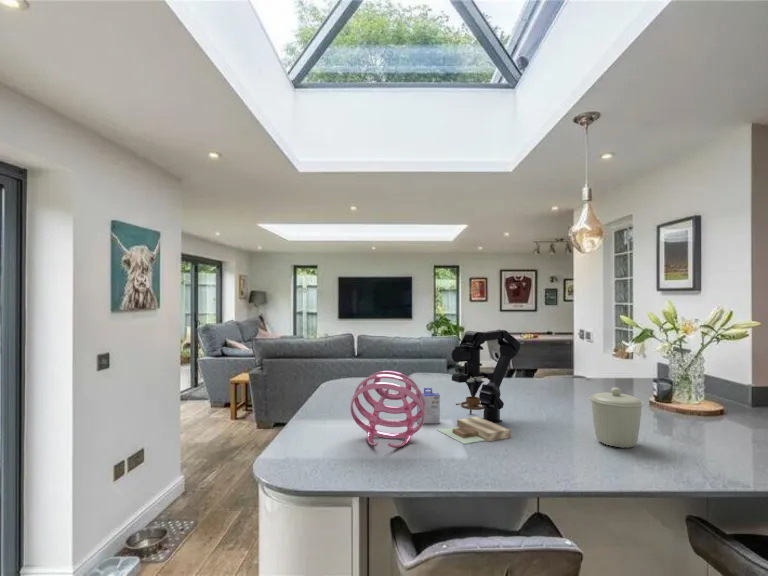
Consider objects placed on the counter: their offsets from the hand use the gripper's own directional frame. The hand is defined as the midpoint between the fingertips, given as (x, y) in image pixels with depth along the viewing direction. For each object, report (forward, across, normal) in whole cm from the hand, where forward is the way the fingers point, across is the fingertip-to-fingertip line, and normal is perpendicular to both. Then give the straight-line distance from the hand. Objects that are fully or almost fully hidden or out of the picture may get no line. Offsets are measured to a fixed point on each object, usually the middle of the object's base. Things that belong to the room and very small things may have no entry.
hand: (473, 397), depth 180 cm
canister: (+12, -35, +41) cm, 55 cm away
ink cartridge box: (+12, +15, -12) cm, 23 cm away
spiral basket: (+12, +42, +4) cm, 44 cm away
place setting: (+13, -16, -24) cm, 32 cm away
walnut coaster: (+12, +11, +9) cm, 19 cm away
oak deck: (+12, +2, +9) cm, 15 cm away
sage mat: (+12, +13, +9) cm, 20 cm away
